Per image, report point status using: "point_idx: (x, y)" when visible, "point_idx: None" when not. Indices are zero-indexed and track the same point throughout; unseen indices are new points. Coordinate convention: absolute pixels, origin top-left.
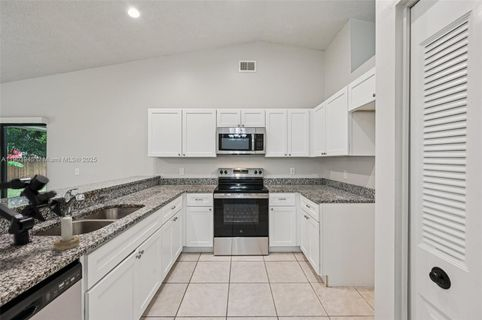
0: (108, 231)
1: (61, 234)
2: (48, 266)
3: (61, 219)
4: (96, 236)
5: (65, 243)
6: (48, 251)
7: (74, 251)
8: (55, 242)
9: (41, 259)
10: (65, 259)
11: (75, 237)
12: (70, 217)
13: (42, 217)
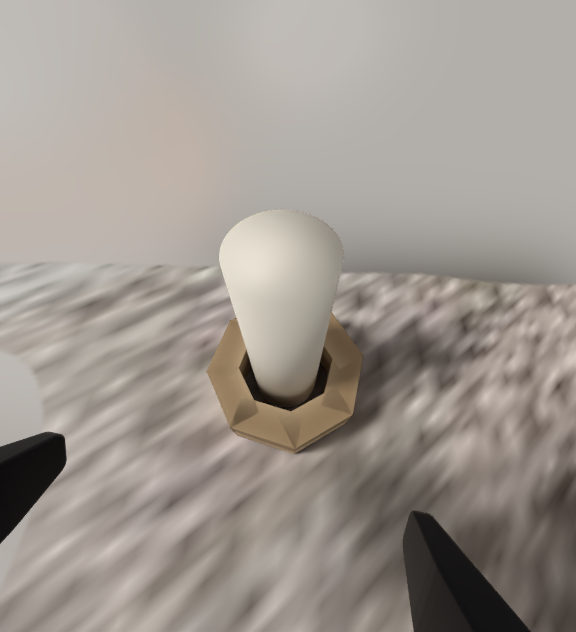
0: (46, 287)
1: (310, 370)
2: (533, 299)
3: (337, 276)
4: (131, 307)
5: (346, 336)
6: (377, 441)
7: (362, 294)
8: (341, 412)
9: (487, 390)
10: (453, 278)
11: (239, 337)
12: (242, 232)
13: (503, 605)
